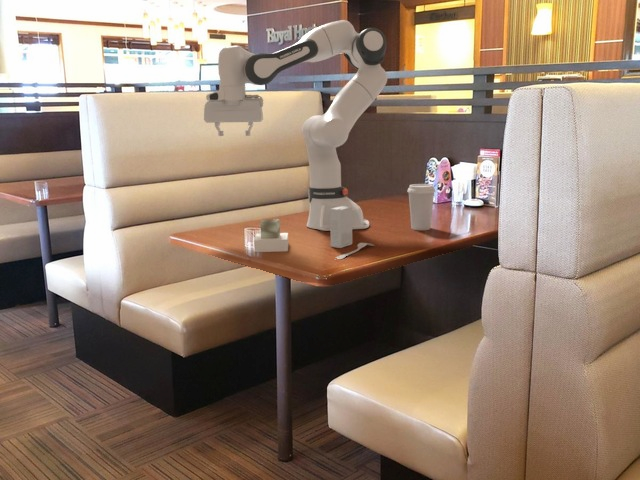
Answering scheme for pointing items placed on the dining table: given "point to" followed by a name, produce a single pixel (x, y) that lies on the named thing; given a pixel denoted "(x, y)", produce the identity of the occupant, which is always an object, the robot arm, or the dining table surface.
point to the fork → (354, 251)
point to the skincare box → (341, 226)
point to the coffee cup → (421, 205)
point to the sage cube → (270, 228)
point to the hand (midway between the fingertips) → (234, 135)
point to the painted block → (271, 243)
